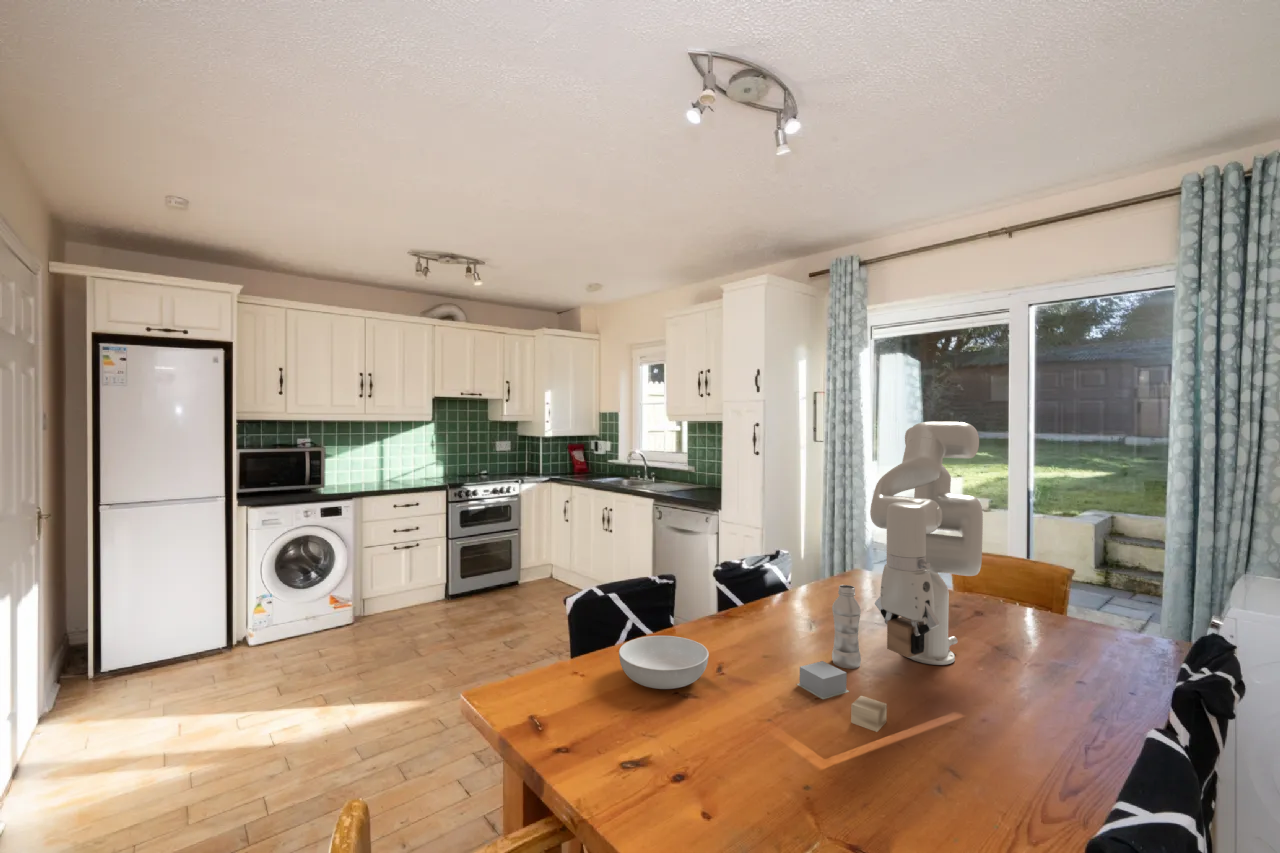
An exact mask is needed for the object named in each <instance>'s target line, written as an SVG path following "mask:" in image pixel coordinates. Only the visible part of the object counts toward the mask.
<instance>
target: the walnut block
mask: <svg viewBox="0 0 1280 853" xmlns="http://www.w3.org/2000/svg"><path fill="white" fill-rule="evenodd" d="M918 625H919V622H918ZM886 626H887V627H886V628H887V629H886V630H887V631H886V633H887V634H886V638H887V639H886V648H887V650H888V651H889V650H890V651H892V652H894V653H896V654H898V655H900V656H903V657H905V658H908V657H911V656H915V655H918V654H921V653H924V651H923V652H921V653H918V654H912V653H911V636H912V634H914V632H913V628H912V623H911V620H910V619H907V618H904V617H901V616H899V618H896V619H892V620H889V621H887V624H886ZM919 627H920V626H919ZM908 659H909V658H908Z"/></svg>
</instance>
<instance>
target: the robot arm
mask: <svg viewBox="0 0 1280 853" xmlns="http://www.w3.org/2000/svg"><path fill="white" fill-rule="evenodd" d="M904 445H905V446H904V447H905V448H904V452H903V457H902V462H901V463H900V464H898V465H896V466H894V467H893V468H892V469H890V470H889V471H887V472H886V473H885V474H883V475H882V476H881V478H880V479H879V480H878V481H877V482H876V484H875V488H874V492H873V495H872V499H871V504H870V512H869V514H870V520H871V522H872V524H873V525H874V526H876V527H877V528H880V529H883V530H886V563H885V564H884V566H883V570H882V575H881V582H880V596H879V597H878V598H877V599H876V600H875V602H874V605H875V606H876V607H877V609H878V610H879V611H880V614H881V616H882V617H883V619H884V623H885V625H887V621H889V620H892V619H896V618H900V617H904V618H907V619H910V620H911V623H912V628H913V632H914V634H912V636H911V653H912V654H918V653H921V652H923V651H924V653H921V654H918V655H915V656H911V657H908V659H909V660H912V661H915V662H918V663H922V664H925V665H934V666H945V665H950V664H952V663H954V662H955V660H956V658H955V653H953V651H951V650H950V647H951V646H953V645H956V644H957V643H958V642H959V641H958V638H957V637H956V636H954V635H953V636H949V607H950V606H949V602H950V601H949V599H950V598H949V597H950V594H949V589H948V588H949V587H948V586H947V584H946V582H945V581H944V579H943V578H942V577H941V576H940V573H941V574H950V575H956V576H957V575H958V576H966V577H973V576H977V575H978V574H979V573H980V572H981V568H982V564H983V563H982V561H983V535H984V534H983V531H984V529H983V527H984V526H983V525H984V519H983V518H984V516H983V508H982V504H981V501H979V499H978V498H977V497H975V496H973V495H968V494H955V493H951V482H952V477H951V474H950V472H949V471H948V469H947V468H946V467H945V466H944V465H943V459H945V458H947V459H948V458H949V459H950V458H951V459H973V458H974V457H976V455H977V454H978V451H979V446H980V437H979V433H978V430H977V429H976V428H975V427H974V426H973V425H972V424H970V423H968V422H967V423H966V422H963V421H960V422H959V421H922V422H919V423H916V424H914V425H913V426H912V427H909V428H908V429H907V430H906V431H905V434H904ZM909 490H914V491H913V492H914V494H913V496H914V497H912V496H900V495H897V494H899V493H902V492H905V491H906V492H907V491H909ZM937 530H938V531H939V530H940V531H948V532H949V531H950V532H957V533H959V534H961V535H962V536H959V535H958V536H957V535H950V534H949V535H946V534H940V533H933V532H936V531H937ZM918 622H919V625H918ZM919 626H920V627H919Z"/></svg>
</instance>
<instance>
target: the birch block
mask: <svg viewBox="0 0 1280 853" xmlns="http://www.w3.org/2000/svg"><path fill="white" fill-rule="evenodd" d="M850 709H851V710H850V717H851V718H850V723H852V724H854V725H856V726H860V727H862V728H865V729H867V730H870V731H873V732H876V733H878V732H879V731H880V730H881V729H882V727H883V726H885V725H886V723H887V713H888V712H887V711H888V710H887V703H886V702H883V701H879V700H876V699H874V698H870V697H867V696H863V695H860V696H859V697H858V698H856V699H855V701H853V702H852V703H851V708H850Z"/></svg>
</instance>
